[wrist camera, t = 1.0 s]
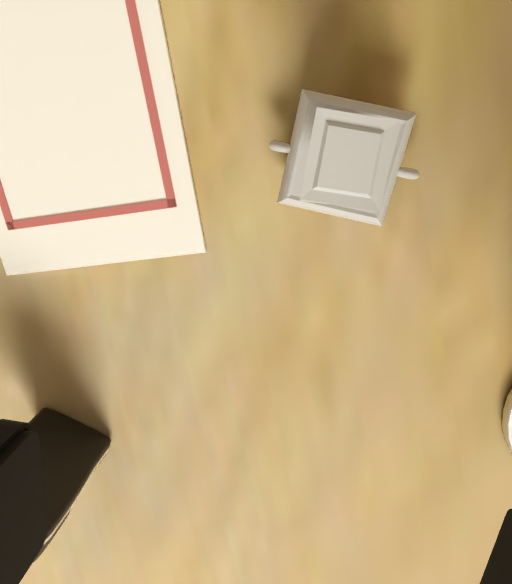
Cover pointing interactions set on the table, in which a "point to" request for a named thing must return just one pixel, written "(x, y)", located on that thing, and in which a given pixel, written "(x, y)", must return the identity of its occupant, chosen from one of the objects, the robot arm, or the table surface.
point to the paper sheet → (90, 137)
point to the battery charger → (65, 463)
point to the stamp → (344, 156)
